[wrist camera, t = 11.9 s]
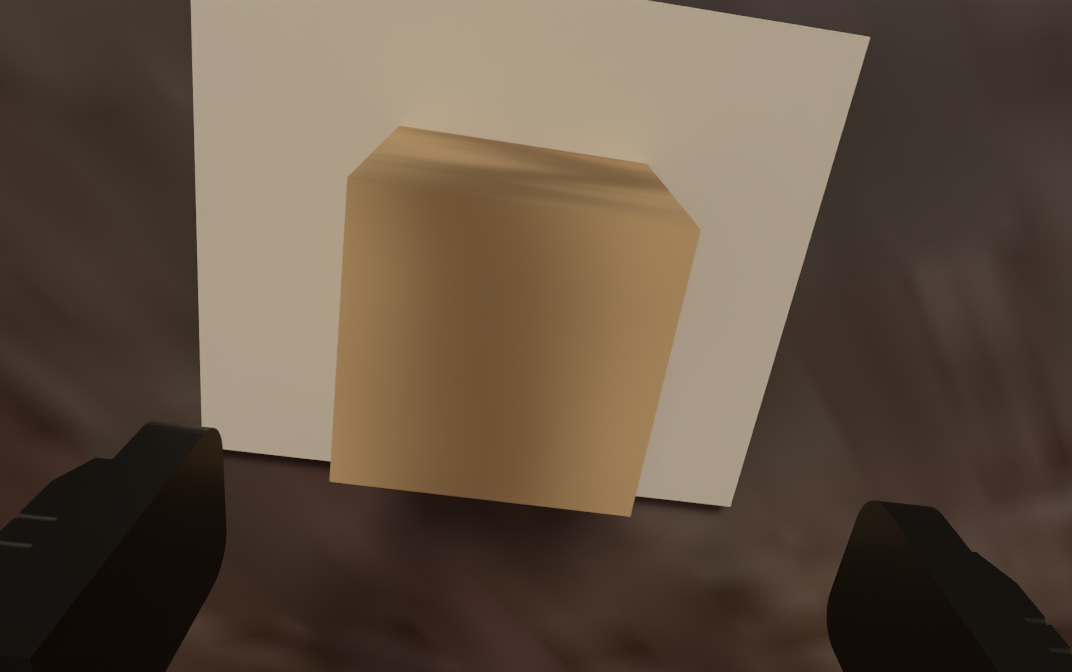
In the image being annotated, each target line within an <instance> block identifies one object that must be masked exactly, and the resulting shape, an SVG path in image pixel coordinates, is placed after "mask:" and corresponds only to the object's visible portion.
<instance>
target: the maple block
mask: <svg viewBox="0 0 1072 672" xmlns="http://www.w3.org/2000/svg"><path fill="white" fill-rule="evenodd" d="M700 231H701V229H700V228H699V227H698V226H697V224H696V223H695V222H694V221H693V220H692V218H691V217H690V216H689V215H688V213H687V212H686V211H685V210H684V209H683V207H682V206H681V205H680V204H679V202H678V201H677V200H676V199H675V198H674V196H673V195H672V194H671V193H670V191H669V190H668V189H667V188H666V186H665V185H664V184H663V183H662V182H661V180H660V179H659V178H658V177H657V175H656V174H655V173H654V172H653V171H652V169H651V168H650V167H649V166H648V164H645V163H639V162H632V161H626V160H620V159H613V158H607V157H600V156H594V155H587V154H581V153H574V152H568V151H561V150H555V149H548V148H542V147H535V146H529V145H522V144H516V143H509V142H503V141H496V140H490V139H483V138H477V137H470V136H464V135H457V134H451V133H444V132H438V131H432V130H425V129H419V128H412V127H406V126H399V127H398V128H397V129H396V130H394V131H393V132H392V133H391V134H390V135H389V136H388V137H387V138H386V139H385V140H384V141H383V142H382V143H381V144H380V145H379V146H378V147H377V148H376V149H375V150H374V151H373V152H372V153H371V154H370V155H369V156H368V157H367V158H366V159H365V160H364V161H363V162H362V163H361V164H360V165H359V166H358V167H357V168H356V169H355V170H354V171H353V172H352V173H351V174H350V175H349V176H348V177H347V191H346V208H345V225H344V242H343V259H342V276H341V294H340V311H339V328H338V345H337V362H336V379H335V397H334V414H333V431H332V448H331V465H330V482H337V483H345V484H354V485H363V486H371V487H380V488H388V489H397V490H406V491H414V492H423V493H431V494H440V495H448V496H457V497H466V498H474V499H483V500H491V501H500V502H508V503H517V504H526V505H534V506H543V507H551V508H560V509H568V510H577V511H586V512H594V513H603V514H611V515H620V516H629V517H630V516H631V512H632V508H633V504H634V500H635V496H636V492H637V488H638V483H639V479H640V475H641V471H642V467H643V463H644V459H645V455H646V451H647V447H648V443H649V439H650V435H651V431H652V427H653V422H654V418H655V414H656V410H657V406H658V402H659V398H660V394H661V390H662V386H663V382H664V378H665V374H666V370H667V366H668V361H669V357H670V353H671V349H672V345H673V341H674V337H675V333H676V329H677V325H678V321H679V317H680V313H681V309H682V305H683V300H684V296H685V292H686V288H687V284H688V280H689V276H690V272H691V268H692V264H693V260H694V256H695V252H696V248H697V244H698V239H699V235H700Z"/></svg>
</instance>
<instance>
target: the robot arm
mask: <svg viewBox="0 0 1072 672" xmlns="http://www.w3.org/2000/svg"><path fill="white" fill-rule="evenodd" d="M225 544H226V512H225V490H224V467H223V446H222V439H221V435H220V433H219V431H218V430H217V429H216V428H211V427H202V426H192V425H183V424H174V423H165V422H155V421H152V422H149V423H147V424H145V425H144V426H143V427H142V428H141V429H140V430H139V431H138V433H137V434H136V435H135V436H134V437H133V438H132V439H131V440H130V441H129V442H128V443H127V444H126V445H125V446H124V447H123V449H122V450H121V451H120V452H119V453H118V454H117V455H116V456H115V457H114V458H113V459H103V458H94V459H92V460H90V461H89V462H87V463H85V464H83V465H81V466H79V467H77V468H75V469H74V470H72V471H70V472H68V473H66V474H64V475H62V476H60V477H59V478H57V479H55V480H53V481H51V482H50V483H49V484H48V485H47V486H46V487H45V488H44V489H43V490H42V491H41V492H40V493H39V494H38V495H37V496H36V497H35V498H34V499H33V500H32V501H31V502H30V503H29V504H28V505H27V506H26V507H25V508H24V509H23V510H22V511H21V512H20V516H19V518H13V519H12V520H11V521H10V522H9V523H8V524H7V525H6V526H5V527H4V528H3V529H2V530H1V531H0V672H166V670H167V668H168V666H169V664H170V663H171V661H172V659H173V657H174V655H175V654H176V652H177V650H178V648H179V647H180V645H181V643H182V641H183V639H184V638H185V636H186V634H187V632H188V630H189V629H190V627H191V625H192V623H193V621H194V620H195V618H196V616H197V614H198V612H199V611H200V609H201V607H202V605H203V603H204V602H205V600H206V598H207V596H208V595H209V593H210V591H211V589H212V587H213V585H214V583H215V581H216V579H217V576H218V574H219V571H220V568H221V564H222V560H223V556H224V551H225ZM827 628H828V634H829V639H830V642H831V645H832V648H833V651H834V653H835V655H836V657H837V659H838V661H839V664H840V666H841V668H842V670H843V672H1072V655H1071V654H1070V647H1069V646H1068V645H1067V643H1066V642H1065V641H1064V640H1063V639H1062V637H1061V636H1060V635H1059V634H1058V632H1057V631H1056V630H1055V629H1054V628H1053V626H1052V625H1046V623H1045V617H1044V616H1043V614H1042V613H1041V612H1040V611H1039V610H1038V608H1037V607H1036V606H1035V605H1034V603H1033V602H1032V601H1031V600H1030V599H1029V597H1028V596H1027V595H1026V594H1025V593H1024V591H1023V590H1022V589H1021V588H1020V587H1019V585H1018V584H1017V583H1016V582H1014V581H1013V580H1012V579H1011V578H1009V577H1008V576H1007V575H1005V574H1004V573H1003V572H1001V571H1000V570H999V569H997V568H996V567H995V566H994V565H992V564H991V563H990V562H988V561H987V560H986V559H984V558H983V557H982V556H980V555H979V554H978V553H977V552H971V550H970V549H969V548H968V547H967V545H966V544H965V543H964V542H963V540H962V539H961V538H960V537H959V535H958V534H957V533H956V531H955V530H954V529H953V528H952V526H951V525H950V524H949V523H948V521H947V520H946V519H945V518H944V516H943V515H942V514H941V513H940V512H939V511H938V510H937V509H935V508H933V507H929V506H920V505H910V504H901V503H892V502H882V501H869V502H867V503H866V504H865V505H864V506H863V507H862V508H861V510H860V512H859V514H858V516H857V519H856V521H855V524H854V527H853V530H852V533H851V536H850V538H849V541H848V544H847V547H846V550H845V552H844V555H843V558H842V561H841V564H840V567H839V569H838V572H837V575H836V578H835V581H834V583H833V586H832V589H831V592H830V595H829V599H828V605H827Z"/></svg>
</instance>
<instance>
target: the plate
mask: <svg viewBox="0 0 1072 672" xmlns="http://www.w3.org/2000/svg"><path fill="white" fill-rule="evenodd" d="M191 29H192V68H193V106H194V145H195V183H196V221H197V260H198V298H199V337H200V375H201V414H202V427H211V428H216V429H217V430H218V431H219V433H220V435H221V439H222V446H223V449H225V450H234V451H243V452H251V453H260V454H269V455H278V456H287V457H296V458H304V459H313V460H322V461H331V448H332V431H333V414H334V397H335V379H336V362H337V345H338V328H339V311H340V294H341V276H342V259H343V242H344V225H345V208H346V191H347V177H348V176H349V175H350V174H351V173H352V172H353V171H354V170H355V169H356V168H357V167H358V166H359V165H360V164H361V163H362V162H363V161H364V160H365V159H366V158H367V157H368V156H369V155H370V154H371V153H372V152H373V151H374V150H375V149H376V148H377V147H378V146H379V145H380V144H381V143H382V142H383V141H384V140H385V139H386V138H387V137H388V136H389V135H390V134H391V133H392V132H393V131H394V130H396V129H397V128H398V127H399V126H406V127H412V128H419V129H425V130H432V131H438V132H444V133H451V134H457V135H464V136H470V137H477V138H483V139H490V140H496V141H503V142H509V143H516V144H522V145H529V146H535V147H542V148H548V149H555V150H561V151H568V152H574V153H581V154H587V155H594V156H600V157H607V158H613V159H620V160H626V161H632V162H639V163H645V164H648V166H649V167H650V168H651V169H652V171H653V172H654V173H655V174H656V175H657V177H658V178H659V179H660V180H661V182H662V183H663V184H664V185H665V186H666V188H667V189H668V190H669V191H670V193H671V194H672V195H673V196H674V198H675V199H676V200H677V201H678V202H679V204H680V205H681V206H682V207H683V209H684V210H685V211H686V212H687V213H688V215H689V216H690V217H691V218H692V220H693V221H694V222H695V223H696V224H697V226H698V227H699V228H700V229H701V231H700V235H699V239H698V244H697V248H696V252H695V256H694V260H693V264H692V268H691V272H690V276H689V280H688V284H687V288H686V292H685V296H684V300H683V305H682V309H681V313H680V317H679V321H678V325H677V329H676V333H675V337H674V341H673V345H672V349H671V353H670V357H669V361H668V366H667V370H666V374H665V378H664V382H663V386H662V390H661V394H660V398H659V402H658V406H657V410H656V414H655V418H654V422H653V427H652V431H651V435H650V439H649V443H648V447H647V451H646V455H645V459H644V463H643V467H642V471H641V475H640V479H639V483H638V488H637V492H636V496H639V497H648V498H657V499H666V500H675V501H684V502H692V503H701V504H710V505H719V506H728V507H730V506H731V503H732V499H733V496H734V492H735V489H736V486H737V482H738V479H739V476H740V472H741V469H742V466H743V462H744V459H745V456H746V452H747V449H748V446H749V442H750V439H751V435H752V432H753V429H754V425H755V422H756V419H757V415H758V412H759V409H760V405H761V402H762V399H763V395H764V392H765V389H766V385H767V382H768V379H769V375H770V372H771V368H772V365H773V362H774V358H775V355H776V352H777V348H778V345H779V342H780V338H781V335H782V332H783V328H784V325H785V322H786V318H787V315H788V311H789V308H790V305H791V301H792V298H793V295H794V291H795V288H796V285H797V281H798V278H799V275H800V271H801V268H802V265H803V261H804V258H805V254H806V251H807V248H808V244H809V241H810V238H811V234H812V231H813V228H814V224H815V221H816V218H817V214H818V211H819V208H820V204H821V201H822V198H823V194H824V191H825V187H826V184H827V181H828V177H829V174H830V171H831V167H832V164H833V161H834V157H835V154H836V151H837V147H838V144H839V141H840V137H841V134H842V130H843V127H844V124H845V120H846V117H847V114H848V110H849V107H850V104H851V100H852V97H853V94H854V90H855V87H856V84H857V80H858V77H859V73H860V70H861V67H862V63H863V60H864V57H865V53H866V50H867V47H868V43H869V40H870V37H867V36H861V35H855V34H849V33H843V32H837V31H830V30H824V29H818V28H812V27H806V26H800V25H794V24H788V23H782V22H776V21H770V20H764V19H757V18H751V17H745V16H739V15H733V14H727V13H721V12H715V11H709V10H703V9H697V8H691V7H684V6H678V5H672V4H666V3H660V2H654V1H648V0H191Z"/></svg>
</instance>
